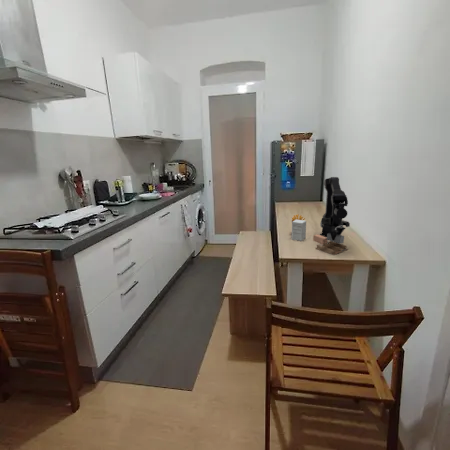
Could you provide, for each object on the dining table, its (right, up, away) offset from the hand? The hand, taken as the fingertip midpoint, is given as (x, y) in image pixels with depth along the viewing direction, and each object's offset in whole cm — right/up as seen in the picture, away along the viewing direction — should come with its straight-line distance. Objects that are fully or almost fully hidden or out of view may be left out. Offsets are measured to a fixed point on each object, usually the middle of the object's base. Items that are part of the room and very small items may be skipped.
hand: (335, 239), depth 156 cm
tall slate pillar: (0, -1, 0) cm, 1 cm away
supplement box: (-16, -1, +21) cm, 26 cm away
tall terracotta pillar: (-4, -3, +13) cm, 14 cm away
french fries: (-14, +2, +30) cm, 33 cm away
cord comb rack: (-2, -6, 0) cm, 6 cm away
